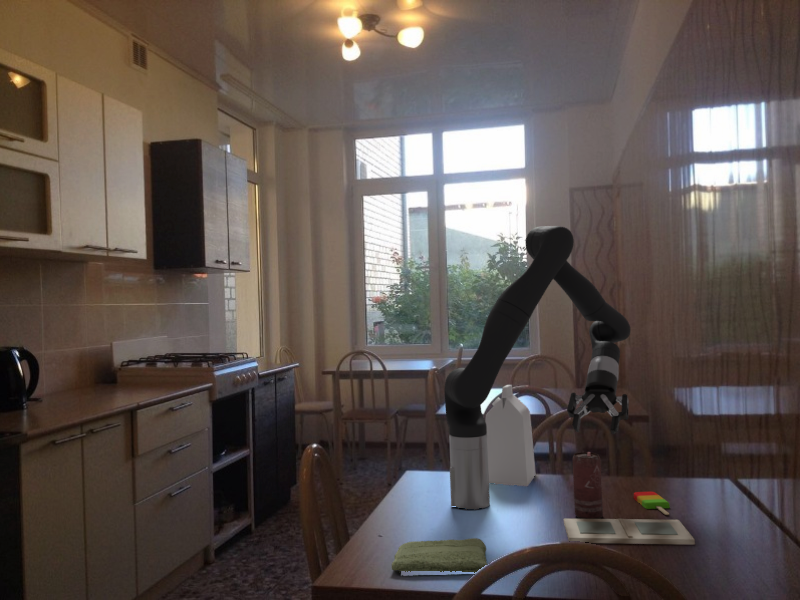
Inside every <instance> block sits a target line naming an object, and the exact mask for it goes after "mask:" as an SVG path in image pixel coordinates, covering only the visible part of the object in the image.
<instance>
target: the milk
mask: <svg viewBox="0 0 800 600" xmlns="http://www.w3.org/2000/svg"><path fill="white" fill-rule="evenodd" d="M491 405H492V407H491V408H490V409H489V410H488V412H487V413H486V414H485V417H484V420H485V422H486V426H487V448H488V472H489V483H495V484H494V485H498V484H503V485H502V486H514V485H517V486H516V487H528V486H529V485H530V484H531V482H532V481H533V479H535V477H536V475H537V474H536V464H535V462H536V461H535V454H534V453H535V451H534V443H533V441H534V440H533V433H532V432H533V429H532V418H531V412H530V410H529V408H528V407H527V405H526V404H525V403H523V402H522V401H521V400H520V399H519V398H518V397H517V396H516V395H514V393H513V384H506V385H504V386H502V391H501V398H500V397H499V396H498V397H497V398H496V399H495V400H494V401H493V402H492V403H491ZM534 476H535V477H534Z"/></svg>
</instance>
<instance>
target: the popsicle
mask: <svg viewBox="0 0 800 600" xmlns="http://www.w3.org/2000/svg"><path fill="white" fill-rule="evenodd" d="M633 499H634V500H635V501H636V502H637V503H638V504H639V503H640V505H641V507H643V508H645V509H646V510H653V509H654V510H655V509H657V510H658V511H659V512H661V513H662V514H664V516H669V515H670V512H668V511H667V510H665V509H670V502H668V501H667V500H666V499H665V498H663V497H662V496H661V495H659V494H658V493H656V492H655V491H635V492H633Z"/></svg>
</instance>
